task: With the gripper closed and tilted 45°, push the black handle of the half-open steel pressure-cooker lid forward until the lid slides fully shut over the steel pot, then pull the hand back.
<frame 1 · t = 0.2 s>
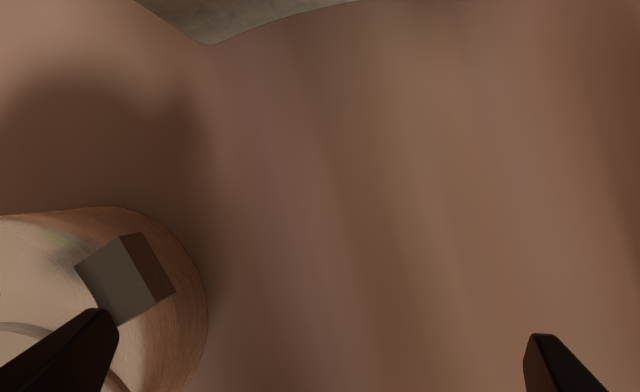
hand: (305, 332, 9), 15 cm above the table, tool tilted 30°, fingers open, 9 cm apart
cooker pot: (108, 311, 27), on the table
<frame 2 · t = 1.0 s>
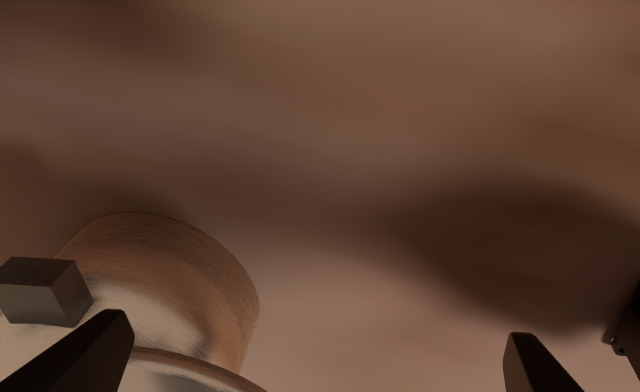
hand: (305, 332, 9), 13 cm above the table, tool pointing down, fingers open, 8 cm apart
cooker pot: (163, 292, 29), on the table
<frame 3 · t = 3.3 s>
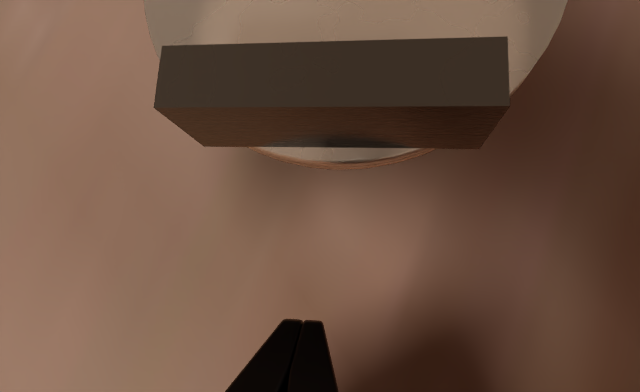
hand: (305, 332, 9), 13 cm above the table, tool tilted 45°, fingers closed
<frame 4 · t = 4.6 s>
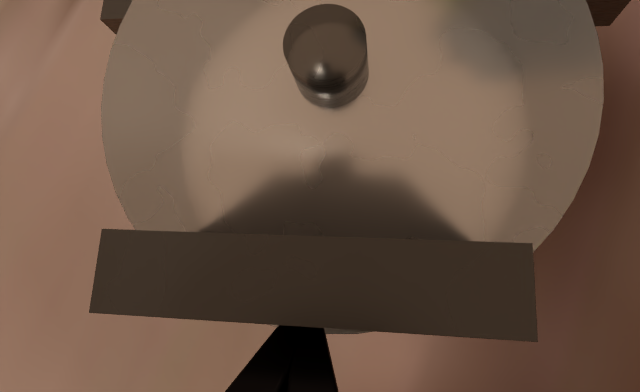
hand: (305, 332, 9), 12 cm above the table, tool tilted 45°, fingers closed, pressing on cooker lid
cooker pot: (359, 82, 23), on the table
cooker lid: (327, 54, 11), point 11 cm above the table, slide at 4.8 cm, touching gripper
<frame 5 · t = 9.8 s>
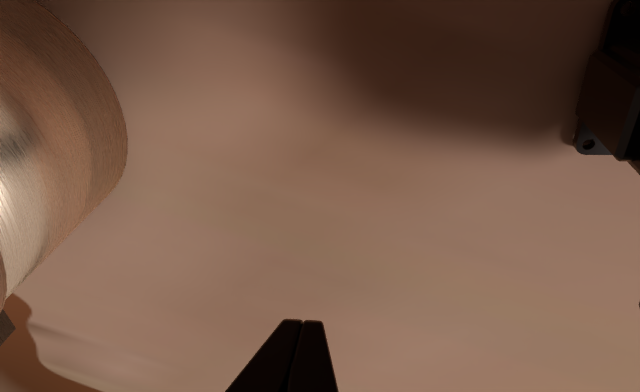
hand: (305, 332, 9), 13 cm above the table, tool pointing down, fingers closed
cooker pot: (6, 110, 23), on the table
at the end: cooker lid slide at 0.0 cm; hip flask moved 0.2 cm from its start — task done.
